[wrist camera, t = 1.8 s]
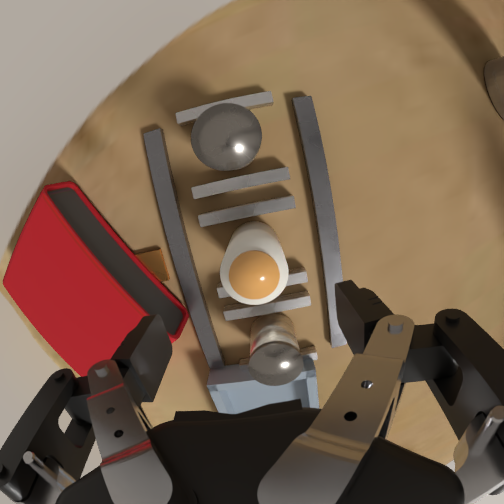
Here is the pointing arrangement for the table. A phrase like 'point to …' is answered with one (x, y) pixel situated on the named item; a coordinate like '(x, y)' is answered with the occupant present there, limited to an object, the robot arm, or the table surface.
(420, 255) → the table surface
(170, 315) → the red device housing
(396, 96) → the table surface
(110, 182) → the table surface
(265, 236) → the halved boiled egg
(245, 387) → the tray
